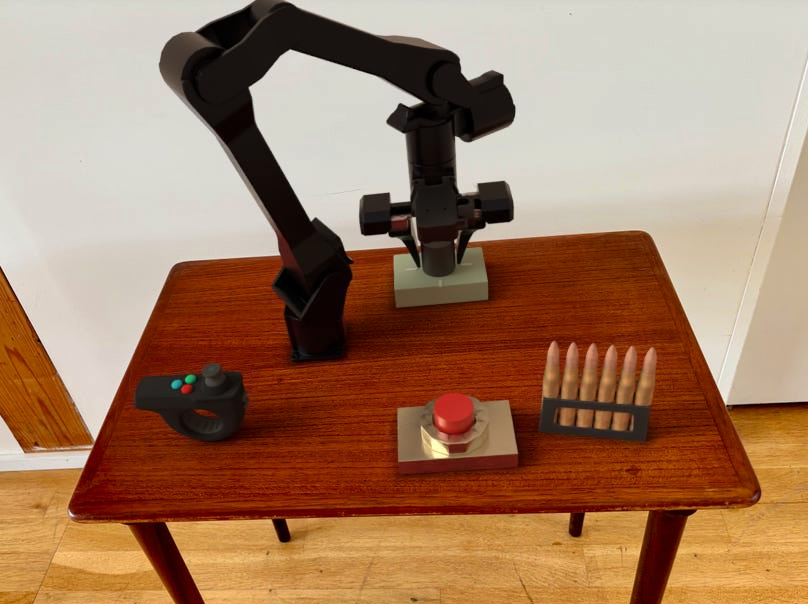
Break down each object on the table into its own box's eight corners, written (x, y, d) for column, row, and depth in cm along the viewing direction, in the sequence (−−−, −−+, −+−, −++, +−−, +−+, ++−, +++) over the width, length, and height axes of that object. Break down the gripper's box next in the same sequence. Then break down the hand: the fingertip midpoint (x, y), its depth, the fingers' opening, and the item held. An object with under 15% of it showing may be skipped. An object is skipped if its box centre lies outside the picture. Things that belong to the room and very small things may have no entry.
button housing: (400, 475, 73) (396, 449, 70) (398, 421, 79) (395, 396, 76) (518, 467, 72) (518, 441, 69) (508, 413, 78) (508, 387, 75)
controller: (254, 447, 78) (232, 382, 72) (149, 448, 80) (117, 385, 74) (262, 418, 82) (241, 354, 75) (161, 420, 83) (131, 357, 77)
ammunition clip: (645, 428, 74) (663, 341, 66) (646, 441, 72) (664, 355, 64) (539, 418, 76) (544, 334, 68) (538, 431, 75) (543, 347, 67)
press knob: (435, 436, 72) (434, 422, 70) (433, 407, 75) (432, 393, 73) (475, 433, 71) (475, 419, 70) (472, 404, 74) (471, 391, 73)
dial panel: (396, 309, 93) (394, 290, 91) (395, 271, 100) (393, 252, 98) (488, 301, 92) (488, 281, 90) (481, 263, 99) (481, 244, 97)
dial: (423, 278, 93) (420, 247, 89) (421, 259, 96) (419, 228, 93) (456, 275, 92) (455, 244, 89) (454, 256, 95) (452, 225, 92)
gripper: (350, 197, 78) (367, 308, 89) (521, 179, 76) (519, 295, 87) (353, 151, 86) (368, 257, 97) (508, 134, 85) (507, 244, 95)
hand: (438, 264), depth 94 cm, fingers open, 5 cm apart
